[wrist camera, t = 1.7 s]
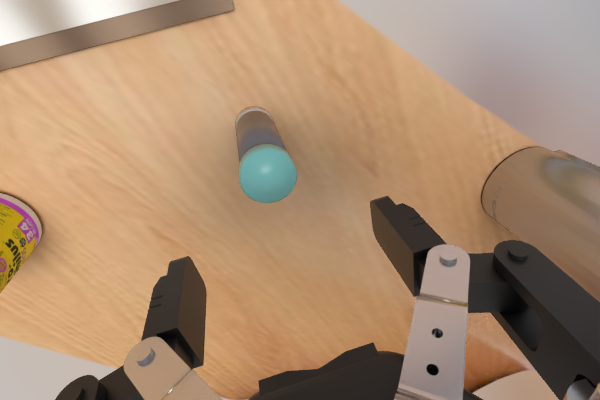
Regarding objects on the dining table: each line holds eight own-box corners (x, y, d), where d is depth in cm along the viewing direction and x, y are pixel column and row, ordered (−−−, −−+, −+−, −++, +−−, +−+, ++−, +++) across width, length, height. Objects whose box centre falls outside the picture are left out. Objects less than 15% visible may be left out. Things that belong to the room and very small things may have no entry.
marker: (268, 100, 27) (289, 144, 18) (278, 138, 29) (301, 193, 20) (228, 111, 27) (231, 161, 18) (241, 148, 28) (249, 209, 20)
